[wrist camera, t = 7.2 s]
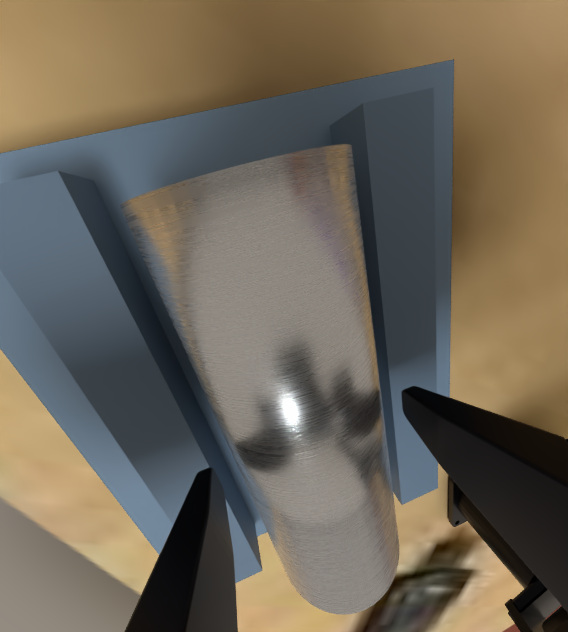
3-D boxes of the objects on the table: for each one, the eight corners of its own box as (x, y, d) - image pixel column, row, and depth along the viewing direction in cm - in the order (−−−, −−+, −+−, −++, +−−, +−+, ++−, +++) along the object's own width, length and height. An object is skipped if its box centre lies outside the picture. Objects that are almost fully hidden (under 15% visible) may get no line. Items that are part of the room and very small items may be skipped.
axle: (361, 462, 14) (428, 579, 10) (270, 499, 14) (297, 641, 9) (307, 166, 9) (408, 123, 4) (150, 207, 8) (69, 207, 4)
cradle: (413, 415, 19) (479, 480, 14) (179, 514, 16) (169, 629, 12) (395, 95, 11) (518, 19, 7) (-31, 189, 9) (-260, 168, 5)
